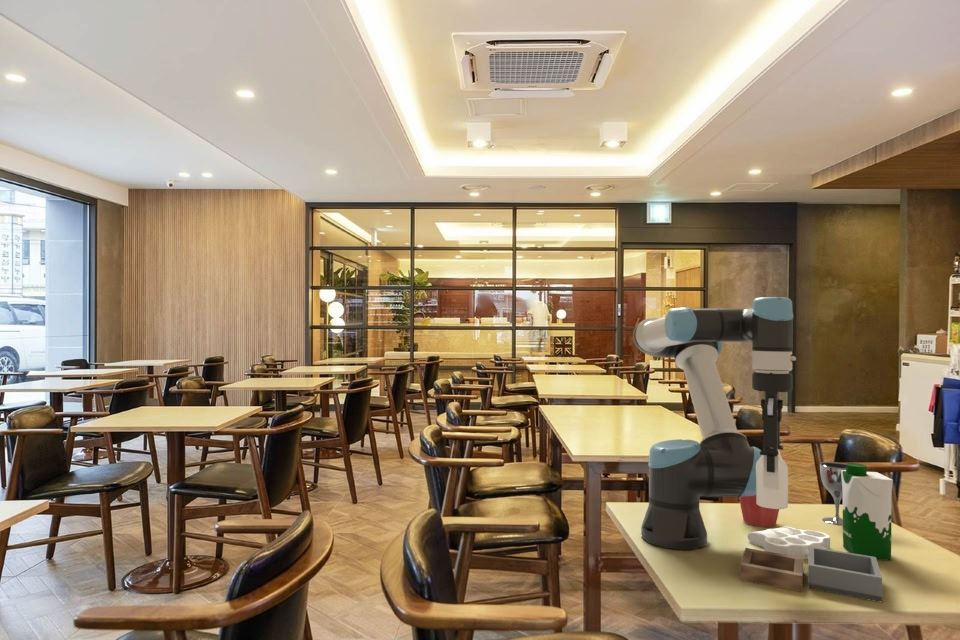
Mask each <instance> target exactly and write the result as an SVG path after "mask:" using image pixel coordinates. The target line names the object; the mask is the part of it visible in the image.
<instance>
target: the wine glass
mask: <svg viewBox="0 0 960 640" xmlns="http://www.w3.org/2000/svg"><path fill="white" fill-rule="evenodd" d="M846 464H847V463H844V462H837V461H823V462H822V461H821V462H820V463H819V470H820V479H821V482H822V485H823V486H824V488H825V489H826V490H827V491H828V492H829V493H830V494H831V496H832V498H833V501H834V506H835V515H834V516H825V517H822V518H821V520H822V521H823V522H824V523H826V524H831V525H835V526H842V527H843V517H840V504H841V500H842V499H843V489H842V477H841V470H846Z"/></svg>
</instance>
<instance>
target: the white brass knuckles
mask: <svg viewBox="0 0 960 640" xmlns="http://www.w3.org/2000/svg"><path fill="white" fill-rule="evenodd" d="M747 539H748V541H749V542H750V543H751V544H752V545H755V546H757V547H762V548H763V551H767V552H773V553H779V554H785V555H791V556H796V557H802V558H803V560H808V552H809V546H811V547H817V548H823V549H829V550H831V537H830V535H828V534H827V533H825V532H821V531H818V530H811V529H805V530H804V529H800V528H799V529H798V528H794V527H792V526H788V525H787V526H786V525H783V526H780V527H776V528H775V527H774V528H768V529H765V530H764V529H763V530H758V531H752V532H749V533H747Z"/></svg>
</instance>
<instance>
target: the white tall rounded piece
mask: <svg viewBox="0 0 960 640" xmlns="http://www.w3.org/2000/svg"><path fill="white" fill-rule="evenodd" d="M781 455H782V454H781V450H780V451H779V450H778V455H777V456H779V460H778V489H775V488H767V487H763V455H762V456H761V457H760V458H759V460H758V461H757V463H756V487H757V488H756V491H757V492H756V493H757V495H756V504H757V505H759V506H761V507H765V508H771V509H779V510H784V509H787V508H788V507H789V506H788V505H789V470H788V469H789V467H788V464H787V463H786V462H785V460H784V459H783V457H782V456H781Z"/></svg>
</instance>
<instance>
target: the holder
mask: <svg viewBox="0 0 960 640" xmlns="http://www.w3.org/2000/svg"><path fill="white" fill-rule="evenodd" d="M739 573H740V574H739V577H740V578H739V579H740V580H741V581H746V582H749V583H750V582H751V583H756V584H760V585H764V586H771V587H776V588H781V589H786V590H791V591H796V592H802V593H803V585H804V584H803V582H804V581H803V580H804V559H803V558H802V557H796V556H791V555H785V554H779V553H773V552H767V551H764V550H760V549H756V548H755V549H754V548H751V547H745V549H744V552H743V555H742V558H741V561H740V571H739Z"/></svg>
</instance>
